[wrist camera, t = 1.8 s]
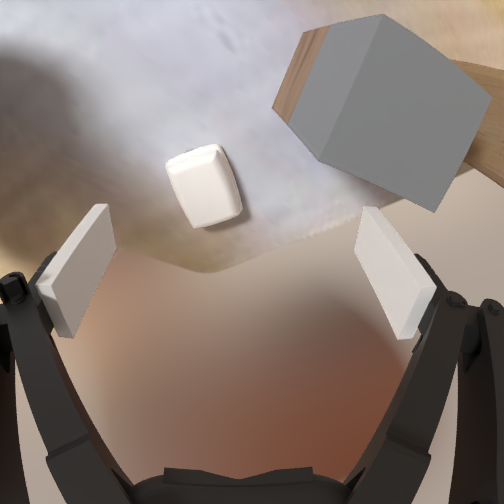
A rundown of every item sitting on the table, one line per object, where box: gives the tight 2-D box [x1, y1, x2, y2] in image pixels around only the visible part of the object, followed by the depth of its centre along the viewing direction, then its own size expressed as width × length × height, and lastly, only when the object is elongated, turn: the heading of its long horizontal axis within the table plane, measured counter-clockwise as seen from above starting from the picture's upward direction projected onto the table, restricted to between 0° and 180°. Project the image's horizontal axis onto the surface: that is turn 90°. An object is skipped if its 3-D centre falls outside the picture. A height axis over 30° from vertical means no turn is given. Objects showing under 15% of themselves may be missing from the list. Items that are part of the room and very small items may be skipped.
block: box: [449, 59, 504, 188], centre depth 22 cm, size 10×10×20 cm
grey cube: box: [288, 14, 492, 213], centre depth 19 cm, size 9×9×9 cm
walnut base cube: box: [272, 25, 330, 125], centre depth 26 cm, size 9×9×9 cm
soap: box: [166, 144, 242, 229], centre depth 35 cm, size 9×7×3 cm
